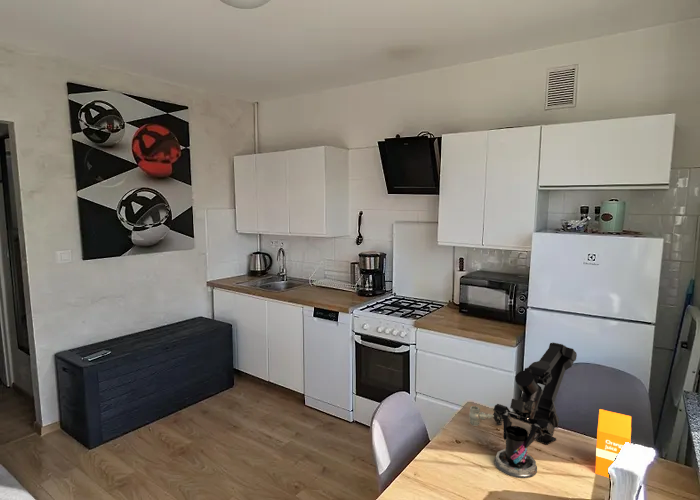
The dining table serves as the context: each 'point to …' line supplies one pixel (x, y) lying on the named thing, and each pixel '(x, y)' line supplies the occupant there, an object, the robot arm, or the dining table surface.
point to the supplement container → (516, 445)
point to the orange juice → (610, 438)
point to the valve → (481, 416)
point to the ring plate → (512, 470)
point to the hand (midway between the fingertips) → (514, 443)
